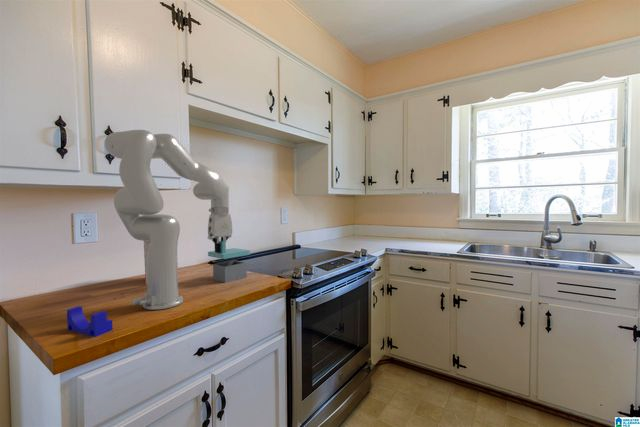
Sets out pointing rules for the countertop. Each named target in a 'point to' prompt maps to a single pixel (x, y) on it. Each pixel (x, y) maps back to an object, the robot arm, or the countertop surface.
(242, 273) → the tub
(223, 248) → the lid
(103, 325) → the cable clip
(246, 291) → the countertop surface
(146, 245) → the cracker box
